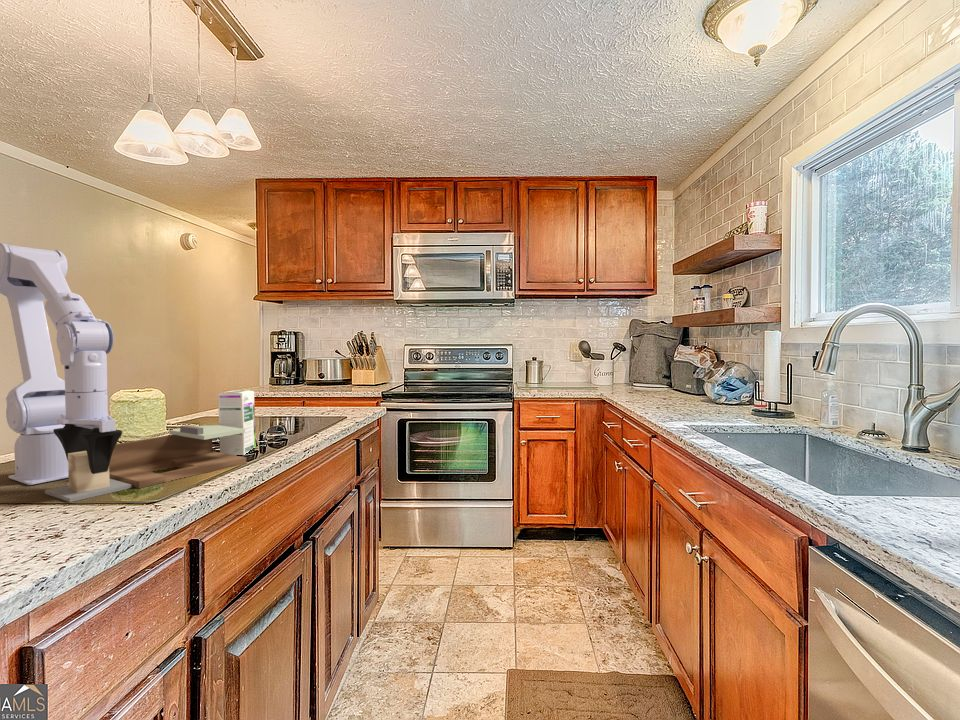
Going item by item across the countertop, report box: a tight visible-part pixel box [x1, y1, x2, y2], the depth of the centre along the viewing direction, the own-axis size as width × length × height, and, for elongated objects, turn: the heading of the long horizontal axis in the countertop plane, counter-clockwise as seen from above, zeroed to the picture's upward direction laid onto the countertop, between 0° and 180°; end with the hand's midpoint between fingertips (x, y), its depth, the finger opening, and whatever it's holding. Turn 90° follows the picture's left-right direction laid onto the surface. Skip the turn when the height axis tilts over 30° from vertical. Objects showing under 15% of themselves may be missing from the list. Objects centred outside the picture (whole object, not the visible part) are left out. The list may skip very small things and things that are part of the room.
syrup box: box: [217, 389, 257, 456], centre depth 114 cm, size 6×6×14 cm
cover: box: [169, 423, 245, 440], centre depth 105 cm, size 12×9×2 cm
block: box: [68, 451, 110, 493], centre depth 85 cm, size 4×4×6 cm
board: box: [109, 434, 247, 489], centre depth 99 cm, size 13×21×6 cm, turn 151°
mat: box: [44, 479, 132, 503], centre depth 85 cm, size 9×9×1 cm
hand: (88, 469), depth 85 cm, fingers open, 7 cm apart
